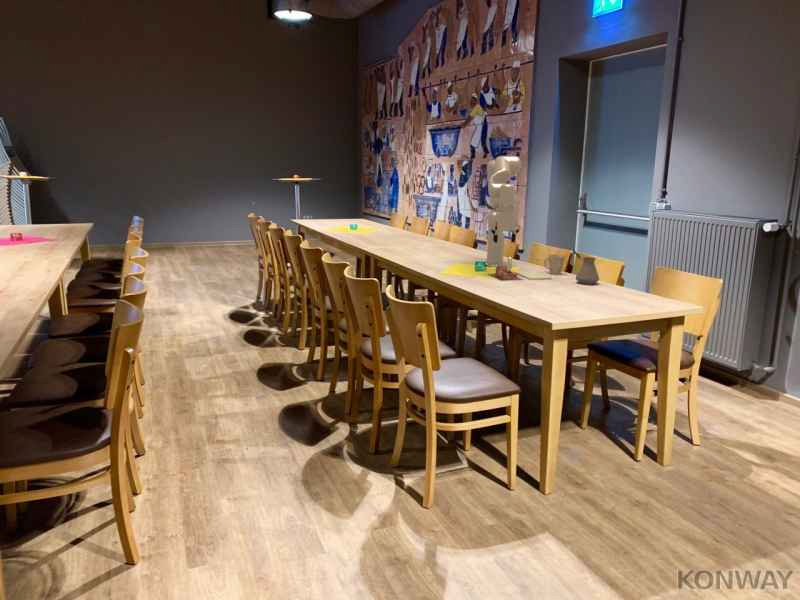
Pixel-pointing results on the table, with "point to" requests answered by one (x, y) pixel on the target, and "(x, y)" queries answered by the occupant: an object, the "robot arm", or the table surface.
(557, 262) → the mug
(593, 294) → the table surface
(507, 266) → the stand
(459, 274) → the table surface
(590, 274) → the coffee pot
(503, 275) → the link
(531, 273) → the board
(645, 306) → the table surface
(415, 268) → the table surface
